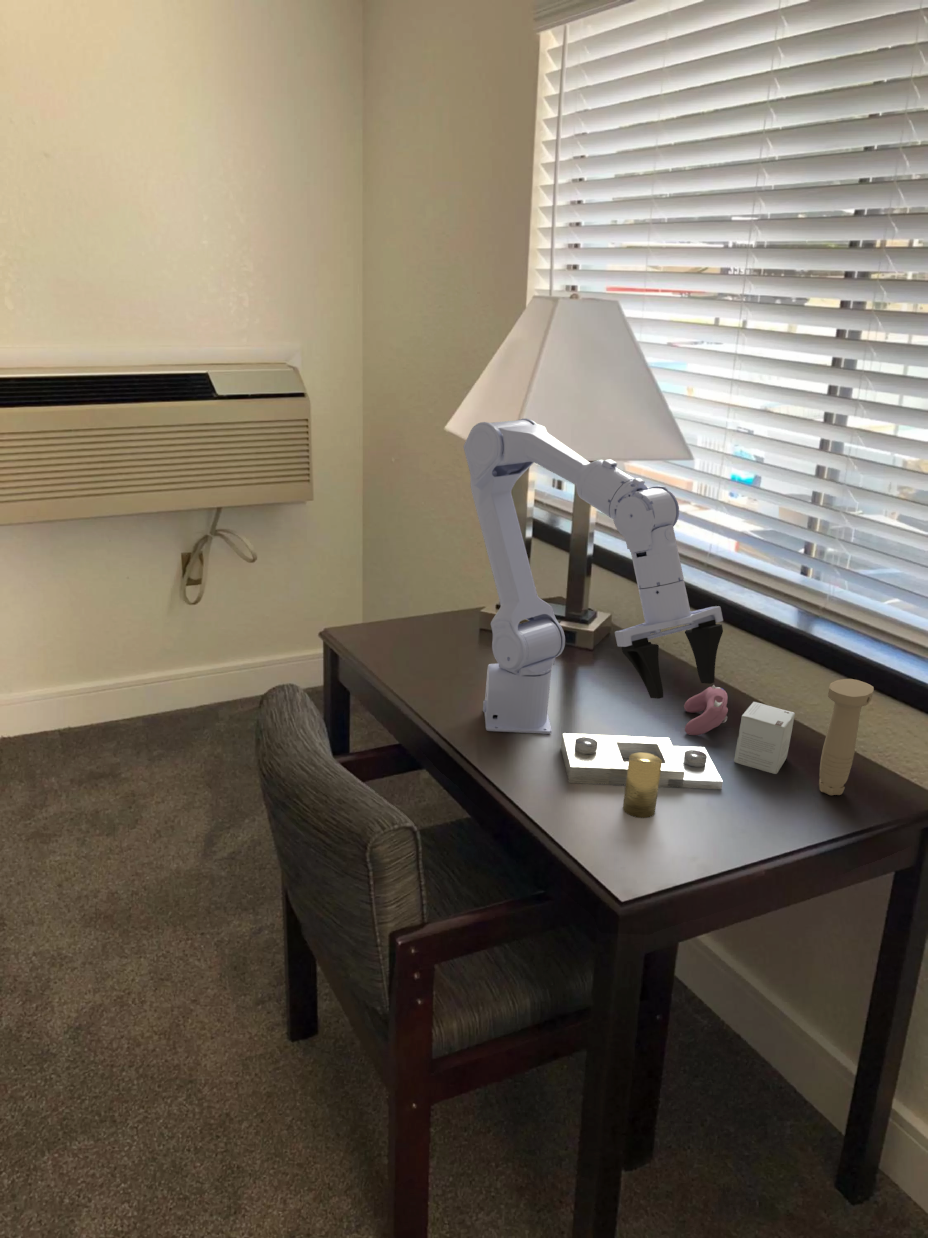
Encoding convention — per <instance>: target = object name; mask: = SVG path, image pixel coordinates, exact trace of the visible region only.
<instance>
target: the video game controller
mask: <svg viewBox="0 0 928 1238" xmlns="http://www.w3.org/2000/svg"><path fill="white" fill-rule="evenodd" d="M727 704H728V693H727V692H726V690H725V689H724V688H722V687H719V686H715V684H713V685H712V686H709V687H707V688H706V689H704V690H703V691H701V692H700V693H698V694H695V695H693V696H692V697H689V698H687V700H686V701H685V703H684V705H683V707H684V710H685V712H686V713H692V714H693V713H698V712H702V711H703V712H702V713H701V714H700V715H698V716H696V717H695V718H692V719H690V720H689V721H688V722H687V723H685V727H684V732H685V733H686V734H687V735H689V736H700V735H703V734H706V733H708V732H710V731H711V730H714V729H715V728H717V727H719V726H720V725H721V724H724V723H726V722H727V720H728V716H727V714H728V711H729V709H728V707H727V706H728V705H727Z"/></svg>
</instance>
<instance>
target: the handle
mask: <svg viewBox="0 0 928 1238" xmlns="http://www.w3.org/2000/svg"><path fill="white" fill-rule="evenodd" d="M874 689H875V688H874V686H873V685H871V684H869V683H867V682H865V681H861V680H859V679H853V678H841V679H837V680H834V681H832V682H831V683H829V688H828V693H827V697H828V699H830V700H831V701H832V702H833V709H832V713H831V716H830V720H829V724H828V727H827V732H826V736H825V739H824V743H823V747H822V751H821V756H820V764H819V773H818V774H819V779H818V786H819V791H820V792H821V793H824V794H827V795H829V796H834V795H835V796H836V795H837V796H840V795H842V794H843V793H844V790H845V788H846V786H844V785H845V784H846V783H847V781H848V780H849V777H850V776H849V775H850V773H851V768H852V765H853V763H854V762H853V761H854V757H855V752H856V743H857V738H858V729H859V723H860V718H861V717H860V716H861V713H862V707H865V706H867V705H869V704H870V703H871V701H872V699H873V694H874Z"/></svg>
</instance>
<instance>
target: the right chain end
mask: <svg viewBox="0 0 928 1238" xmlns="http://www.w3.org/2000/svg"><path fill="white" fill-rule="evenodd" d="M673 747H674V750H675V752H676V754H677V756H678V758H679V760H680V762H681V764H682V767H683V769H684V771H685V774H684V780H679V779H660V780H659V787H658V788H680V789H681V788H682V789H702V790H703V789H704V790H722V788H723V779H722V777H721V775H720V773H719V772H718V770H717V768H716V766H715V764H714V762H713V761H712V759H711V757H710V755H709V753H708V751H707V749H706V747H705V746H689V745H688V746H685V745H673ZM619 752H620V754H621V757H622V759H629V757H630V755H632V754H634V753H640V752H642V753H649V754H653V755H655V756H657V757H659V756H658V754H657V752H655V751H633V750H619ZM626 779H627V777H610V776H609V785H610V786H611V785H613V786H626Z"/></svg>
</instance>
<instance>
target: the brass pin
mask: <svg viewBox="0 0 928 1238" xmlns="http://www.w3.org/2000/svg"><path fill="white" fill-rule="evenodd" d="M628 762H629V763H628V771H627V779H626V785H625V786H624V787H625V788H624V796H623V797H624V798H623V804H622V809H623V812H625V813H626V814H627V815H628V816H631V817H633V818H638V819H648V818H649V819H650V818H651V817H653V816H654V815H655V814H656V807H657V800H658V794H659V788H660V787H659V780H660V773H661V766H662V761H661V759H660V758H659V757H657V756H655V755H653V754H649V753H642V752H640V753H634V754H632V755H630V757H629V758H628Z"/></svg>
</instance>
